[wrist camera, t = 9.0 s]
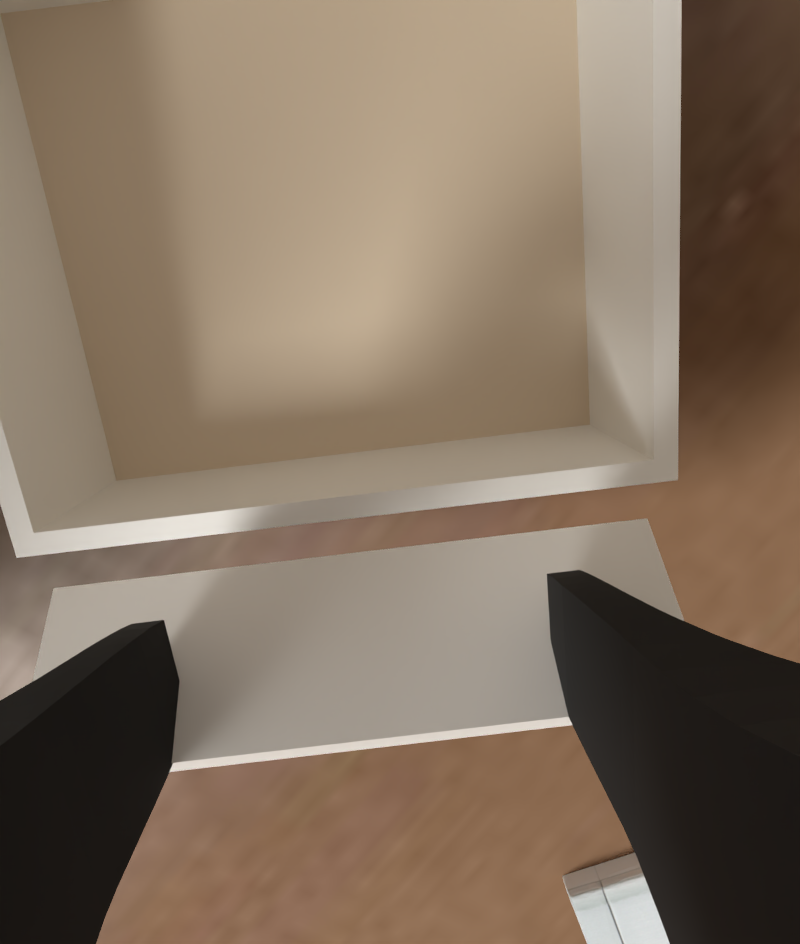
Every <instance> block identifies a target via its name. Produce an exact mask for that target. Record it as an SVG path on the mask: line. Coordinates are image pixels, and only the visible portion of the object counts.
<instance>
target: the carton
mask: <svg viewBox="0 0 800 944" xmlns="http://www.w3.org/2000/svg"><path fill="white" fill-rule="evenodd" d="M681 21H682V0H0V505H1V508H2V512H3V515H4V518H5V521H6V525H7V528H8V531H9V535H10V538H11V541H12V544H13V548H14V551H15V554H16V557H17V558H20V557H29V556H37V555H46V554H54V553H63V552H71V551H79V550H88V549H96V548H105V547H113V546H122V545H130V544H139V543H147V542H156V541H164V540H173V539H181V538H190V537H198V536H207V535H215V534H224V533H232V532H241V531H249V530H258V529H266V528H275V527H283V526H292V525H300V524H309V523H317V522H326V521H334V520H343V519H351V518H360V517H368V516H377V515H385V514H394V513H402V512H411V511H419V510H428V509H436V508H445V507H453V506H462V505H470V504H479V503H487V502H496V501H504V500H513V499H521V498H530V497H538V496H547V495H555V494H564V493H572V492H581V491H589V490H598V489H606V488H615V487H623V486H632V485H640V484H649V483H657V482H666V481H674V480H678V405H679V277H680V149H681Z"/></svg>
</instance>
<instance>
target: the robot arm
mask: <svg viewBox="0 0 800 944" xmlns="http://www.w3.org/2000/svg"><path fill="white" fill-rule="evenodd" d="M547 587H548V604H549V621H550V639H551V644H552V648H553V653H554V657H555V661H556V665H557V670H558V674H559V678H560V682H561V687H562V691H563V695H564V699H565V704H566V708H567V712H568V716H569V719H570V721H571V723H572V725H573V727H574V729H575V731H576V733H577V735H578V737H579V739H580V741H581V743H582V745H583V747H584V749H585V751H586V753H587V755H588V757H589V759H590V761H591V763H592V765H593V767H594V769H595V771H596V773H597V775H598V777H599V779H600V781H601V783H602V785H603V787H604V789H605V791H606V793H607V795H608V797H609V799H610V801H611V803H612V805H613V807H614V809H615V811H616V813H617V815H618V817H619V819H620V821H621V823H622V825H623V827H624V830H625V832H626V834H627V836H628V838H629V841H630V843H631V845H632V847H633V850H634V852H635V854H636V856H637V859H638V861H639V864H640V867H641V869H642V872H643V874H644V877H645V880H646V882H647V885H648V887H649V890H650V893H651V895H652V898H653V900H654V903H655V906H656V908H657V911H658V913H659V916H660V919H661V921H662V924H663V927H664V929H665V932H666V935H667V937H668V940H669V943H670V944H800V664H799V663H796V662H793V661H789V660H786V659H783V658H779V657H776V656H773V655H770V654H767V653H764V652H761V651H759V650H756V649H753V648H750V647H747V646H744V645H741V644H739V643H736V642H733V641H730V640H728V639H725V638H722V637H720V636H717V635H715V634H712V633H710V632H708V631H705V630H703V629H701V628H698V627H696V626H694V625H692V624H689V623H687V622H685V621H682V620H680V619H678V618H676V617H674V616H671V615H669V614H667V613H665V612H663V611H661V610H659V609H657V608H655V607H653V606H651V605H649V604H647V603H645V602H643V601H641V600H639V599H637V598H635V597H633V596H631V595H629V594H627V593H625V592H624V591H622V590H620V589H618V588H616V587H614V586H612V585H610V584H608V583H606V582H605V581H603V580H601V579H599V578H597V577H595V576H593V575H591V574H589V573H586V572H584V571H581V570H574V571H565V572H557V573H549V574H547ZM179 683H180V680H179V676H178V673H177V669H176V665H175V661H174V657H173V653H172V649H171V645H170V641H169V638H168V634H167V630H166V626H165V622H164V620H159V621H151V622H142V623H134V624H130V625H128V626H126V627H124V628H121V629H119V630H118V631H116V632H114V633H112V634H110V635H108V636H107V637H105V638H103V639H101V640H100V641H98V642H96V643H95V644H93V645H91V646H90V647H88V648H86V649H85V650H83V651H82V652H80V653H78V654H77V655H75V656H74V657H72V658H70V659H69V660H67V661H65V662H64V663H62V664H61V665H59V666H57V667H56V668H54V669H53V670H51V671H49V672H48V673H46V674H45V675H43V676H41V677H40V678H38V679H36V680H35V681H33V682H32V683H30V684H28V685H26V686H25V687H23V688H21V689H20V690H18V691H16V692H14V693H13V694H11V695H9V696H8V697H6V698H4V699H3V700H1V701H0V944H96V942H97V939H98V936H99V933H100V930H101V927H102V924H103V921H104V919H105V916H106V913H107V911H108V909H109V906H110V904H111V901H112V899H113V896H114V894H115V891H116V889H117V887H118V884H119V882H120V880H121V878H122V876H123V873H124V871H125V869H126V867H127V865H128V862H129V860H130V858H131V856H132V854H133V851H134V849H135V847H136V845H137V843H138V841H139V838H140V836H141V834H142V832H143V830H144V827H145V825H146V823H147V821H148V819H149V816H150V814H151V812H152V810H153V808H154V806H155V803H156V801H157V799H158V797H159V794H160V792H161V790H162V788H163V785H164V783H165V781H166V779H167V776H168V774H169V772H170V769H171V767H172V765H173V763H172V754H173V744H174V734H175V724H176V713H177V703H178V693H179Z"/></svg>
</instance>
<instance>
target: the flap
mask: <svg viewBox="0 0 800 944" xmlns="http://www.w3.org/2000/svg"><path fill="white" fill-rule="evenodd" d="M574 570H581V571H584V572H586V573H589V574H591V575H593V576H595V577H597V578H599V579H601V580H603V581H605V582H606V583H608V584H610V585H612V586H614V587H616V588H618V589H620V590H622V591H624V592H625V593H627V594H629V595H631V596H633V597H635V598H637V599H639V600H641V601H643V602H645V603H647V604H649V605H651V606H653V607H655V608H657V609H659V610H661V611H663V612H665V613H667V614H669V615H671V616H674V617H676V618H678V619H680V620H682V621H684V619H683V616H682V613H681V610H680V608H679V605H678V602H677V599H676V597H675V594H674V591H673V588H672V586H671V583H670V580H669V577H668V574H667V572H666V569H665V566H664V563H663V561H662V558H661V555H660V552H659V550H658V547H657V544H656V541H655V539H654V536H653V533H652V530H651V527H650V525H649V522H648V519H638V520H630V521H621V522H613V523H604V524H596V525H587V526H579V527H570V528H562V529H553V530H545V531H536V532H528V533H519V534H511V535H502V536H494V537H485V538H477V539H468V540H460V541H451V542H443V543H434V544H426V545H417V546H409V547H400V548H392V549H383V550H375V551H366V552H358V553H349V554H341V555H332V556H324V557H315V558H307V559H298V560H290V561H281V562H272V563H264V564H255V565H247V566H238V567H230V568H221V569H213V570H204V571H196V572H187V573H179V574H170V575H162V576H153V577H145V578H136V579H128V580H119V581H111V582H102V583H94V584H85V585H77V586H68V587H60V588H53V593H52V597H51V602H50V606H49V610H48V615H47V619H46V624H45V628H44V633H43V637H42V641H41V646H40V650H39V655H38V659H37V663H36V668H35V672H34V677H33V681H35V680H36V679H38V678H40V677H41V676H43V675H45V674H46V673H48V672H49V671H51V670H53V669H54V668H56V667H57V666H59V665H61V664H62V663H64V662H65V661H67V660H69V659H70V658H72V657H74V656H75V655H77V654H78V653H80V652H82V651H83V650H85V649H86V648H88V647H90V646H91V645H93V644H95V643H96V642H98V641H100V640H101V639H103V638H105V637H107V636H108V635H110V634H112V633H114V632H116V631H118V630H119V629H121V628H124V627H126V626H128V625H130V624H134V623H142V622H151V621H159V620H164V622H165V626H166V630H167V634H168V638H169V641H170V645H171V649H172V653H173V657H174V661H175V665H176V669H177V673H178V676H179V680H180V683H179V693H178V703H177V713H176V724H175V734H174V744H173V754H172V763H173V765H172V767H171V769H170V772H173V771H181V770H190V769H199V768H207V767H216V766H224V765H233V764H242V763H250V762H259V761H267V760H276V759H284V758H293V757H302V756H310V755H319V754H327V753H336V752H345V751H353V750H362V749H370V748H379V747H388V746H396V745H405V744H413V743H422V742H431V741H439V740H448V739H456V738H465V737H474V736H482V735H491V734H499V733H508V732H517V731H525V730H534V729H542V728H551V727H560V726H568V725H572V723H571V721H570V719H569V716H568V712H567V708H566V704H565V699H564V695H563V691H562V687H561V682H560V678H559V674H558V670H557V665H556V661H555V657H554V653H553V648H552V644H551V639H550V621H549V604H548V587H547V574H549V573H557V572H565V571H574ZM33 681H32V682H33Z"/></svg>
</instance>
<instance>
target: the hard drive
mask: <svg viewBox="0 0 800 944" xmlns="http://www.w3.org/2000/svg"><path fill="white" fill-rule="evenodd" d="M562 877H563V880H564V884H565V887H566V890H567V893H568V896H569V898H570V901H571V904H572V906H573V909H574V911H575V914H576V916H577V919H578V921H579V924H580V927H581V929H582V932H583V934H584V937H585V939H586V942H587V944H670V943H669V940H668V937H667V935H666V932H665V929H664V927H663V924H662V921H661V919H660V916H659V913H658V911H657V908H656V906H655V903H654V900H653V898H652V895H651V893H650V890H649V887H648V885H647V882H646V880H645V877H644V874H643V872H642V869H641V867H640V864H639V861H638V859H637V856H636V854H635V853H632V854H629V855H626V856H622V857H619V858H616V859H613V860H610V861H607V862H604V863H601V864H598V865H595V866H591V867H588V868H585V869H582V870H578V871H575V872H572V873H569V874H566V875H563V876H562Z"/></svg>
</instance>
